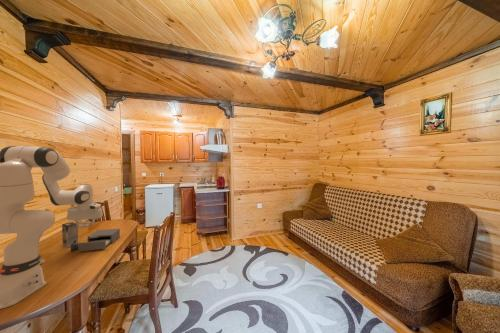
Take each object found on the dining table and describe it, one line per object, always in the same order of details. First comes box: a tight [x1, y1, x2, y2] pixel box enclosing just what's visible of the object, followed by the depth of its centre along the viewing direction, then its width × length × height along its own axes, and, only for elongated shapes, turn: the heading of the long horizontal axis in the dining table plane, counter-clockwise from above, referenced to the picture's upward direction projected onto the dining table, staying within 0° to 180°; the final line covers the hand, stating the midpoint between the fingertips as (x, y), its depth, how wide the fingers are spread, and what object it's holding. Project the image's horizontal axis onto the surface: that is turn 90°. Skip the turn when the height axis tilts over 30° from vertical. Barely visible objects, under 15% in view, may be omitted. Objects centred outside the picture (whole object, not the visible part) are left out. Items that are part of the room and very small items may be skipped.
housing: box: [87, 228, 121, 245], centre depth 149 cm, size 14×16×7 cm
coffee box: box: [61, 221, 79, 249], centre depth 142 cm, size 9×6×16 cm
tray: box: [77, 239, 111, 252], centre depth 138 cm, size 14×16×5 cm
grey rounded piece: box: [69, 244, 78, 253], centre depth 133 cm, size 4×4×4 cm
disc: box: [78, 220, 92, 228], centre depth 135 cm, size 7×7×2 cm
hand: (85, 225), depth 135 cm, fingers closed on disc, 7 cm apart
